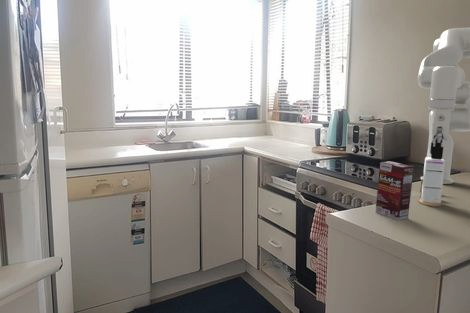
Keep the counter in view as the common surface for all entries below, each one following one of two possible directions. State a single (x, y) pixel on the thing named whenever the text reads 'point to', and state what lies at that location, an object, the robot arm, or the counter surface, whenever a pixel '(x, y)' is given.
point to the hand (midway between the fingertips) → (435, 156)
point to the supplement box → (394, 190)
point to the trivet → (430, 203)
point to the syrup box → (432, 180)
